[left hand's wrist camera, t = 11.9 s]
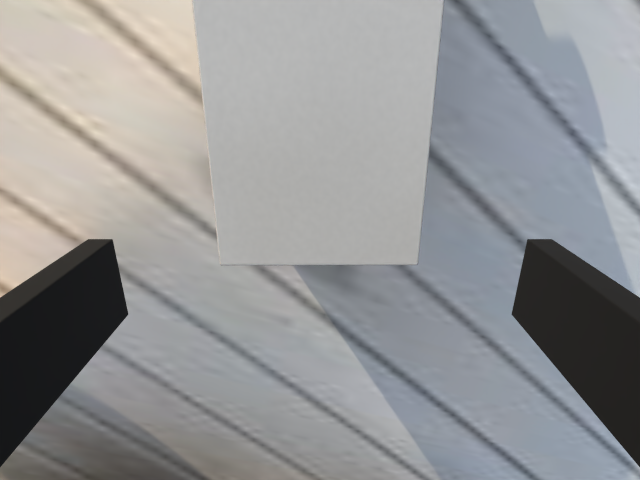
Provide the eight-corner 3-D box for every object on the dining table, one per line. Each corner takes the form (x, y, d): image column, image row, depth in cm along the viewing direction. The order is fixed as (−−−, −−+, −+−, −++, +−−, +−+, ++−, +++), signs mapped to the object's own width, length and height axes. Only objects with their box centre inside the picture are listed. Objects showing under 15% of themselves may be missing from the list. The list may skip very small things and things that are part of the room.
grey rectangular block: (229, -127, 23) (160, -288, 13) (407, -128, 23) (473, -289, 13) (252, 207, 30) (219, 265, 21) (386, 207, 30) (418, 265, 21)
